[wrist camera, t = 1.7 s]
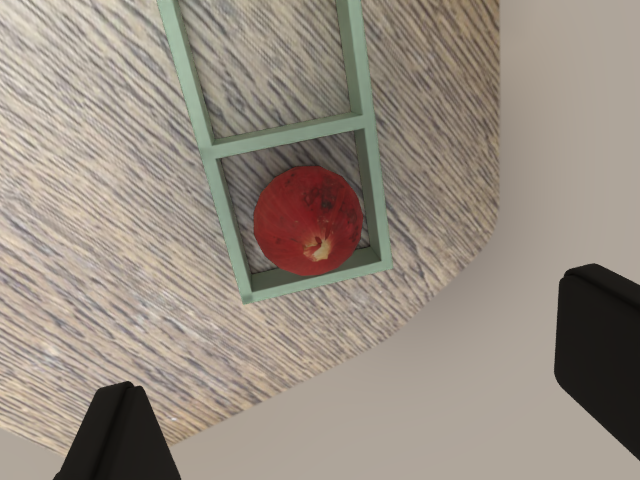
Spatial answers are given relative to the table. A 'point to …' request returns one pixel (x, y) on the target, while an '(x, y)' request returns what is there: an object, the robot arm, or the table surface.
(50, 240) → the table surface
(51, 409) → the table surface
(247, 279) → the green rectangular frame
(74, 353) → the table surface
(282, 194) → the red pomegranate
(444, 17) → the table surface
